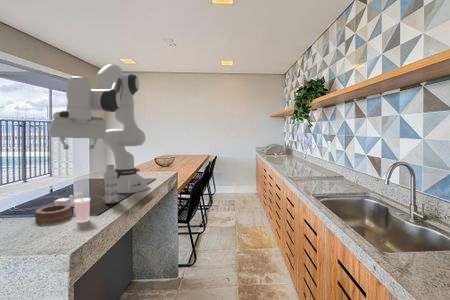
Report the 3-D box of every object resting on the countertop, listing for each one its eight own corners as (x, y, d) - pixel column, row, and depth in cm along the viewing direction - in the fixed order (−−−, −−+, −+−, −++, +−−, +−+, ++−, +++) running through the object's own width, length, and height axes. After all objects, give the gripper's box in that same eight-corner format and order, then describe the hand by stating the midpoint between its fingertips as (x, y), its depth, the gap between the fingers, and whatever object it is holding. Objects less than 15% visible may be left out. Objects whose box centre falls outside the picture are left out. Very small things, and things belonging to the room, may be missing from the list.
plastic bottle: (113, 205, 123) (112, 166, 122) (101, 204, 125) (100, 165, 123) (121, 201, 130) (120, 164, 128) (109, 201, 131) (108, 164, 130)
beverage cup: (75, 219, 104) (74, 186, 103) (92, 217, 106) (90, 185, 105) (72, 224, 98) (71, 190, 97) (90, 222, 101) (88, 188, 100)
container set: (65, 212, 113) (65, 200, 113) (54, 212, 113) (53, 201, 113) (86, 200, 133) (86, 190, 133) (76, 200, 133) (76, 190, 133)
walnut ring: (66, 211, 115) (65, 202, 114) (75, 217, 106) (74, 208, 106) (33, 218, 105) (32, 208, 105) (40, 225, 97) (39, 215, 97)
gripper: (103, 118, 110) (103, 149, 110) (48, 114, 96) (48, 149, 96) (108, 117, 105) (108, 149, 106) (51, 112, 91) (51, 149, 92)
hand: (79, 149), depth 101 cm, fingers open, 8 cm apart
